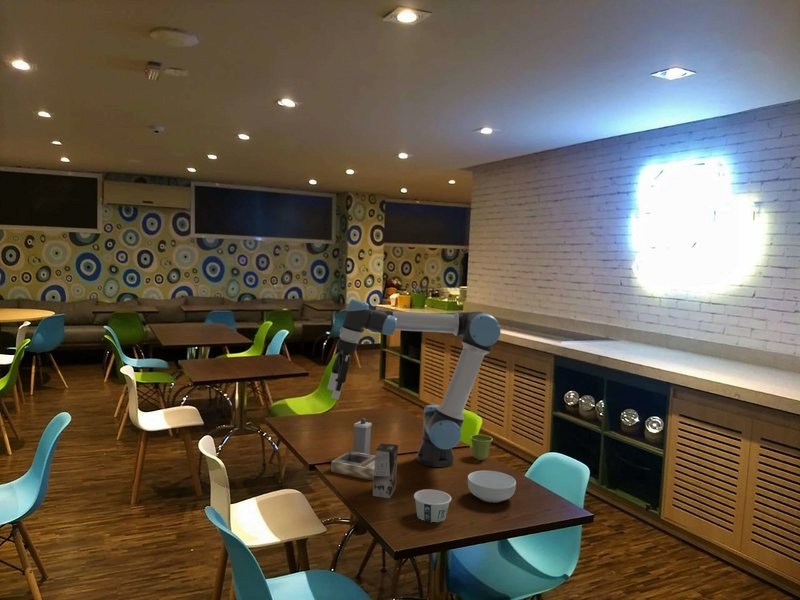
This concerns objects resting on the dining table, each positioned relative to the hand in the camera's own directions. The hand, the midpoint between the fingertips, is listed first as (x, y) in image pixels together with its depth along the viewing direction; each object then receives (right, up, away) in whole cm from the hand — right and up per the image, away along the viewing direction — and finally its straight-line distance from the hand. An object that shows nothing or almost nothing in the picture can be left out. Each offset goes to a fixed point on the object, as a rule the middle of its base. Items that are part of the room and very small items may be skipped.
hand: (332, 394), depth 225 cm
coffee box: (+20, -32, -18) cm, 42 cm away
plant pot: (+60, -32, +27) cm, 73 cm away
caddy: (+11, -30, +3) cm, 32 cm away
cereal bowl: (+57, -34, -17) cm, 69 cm away
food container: (+36, -34, -35) cm, 60 cm away
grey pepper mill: (+10, -29, +19) cm, 36 cm away
